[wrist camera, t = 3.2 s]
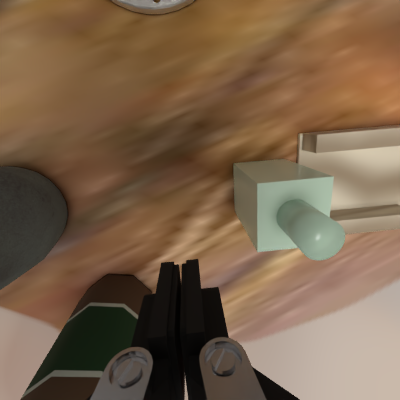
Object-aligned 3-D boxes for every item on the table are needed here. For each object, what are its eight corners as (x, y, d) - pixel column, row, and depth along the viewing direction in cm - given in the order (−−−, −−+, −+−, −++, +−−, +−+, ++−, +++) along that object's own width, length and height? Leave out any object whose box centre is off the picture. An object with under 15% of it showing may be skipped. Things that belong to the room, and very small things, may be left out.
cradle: (298, 133, 22) (317, 135, 19) (431, 122, 22) (473, 121, 19) (293, 225, 25) (309, 240, 22) (410, 213, 25) (444, 227, 22)
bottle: (233, 163, 22) (278, 201, 11) (284, 158, 23) (375, 191, 12) (234, 211, 24) (275, 284, 13) (282, 206, 24) (361, 275, 13)
